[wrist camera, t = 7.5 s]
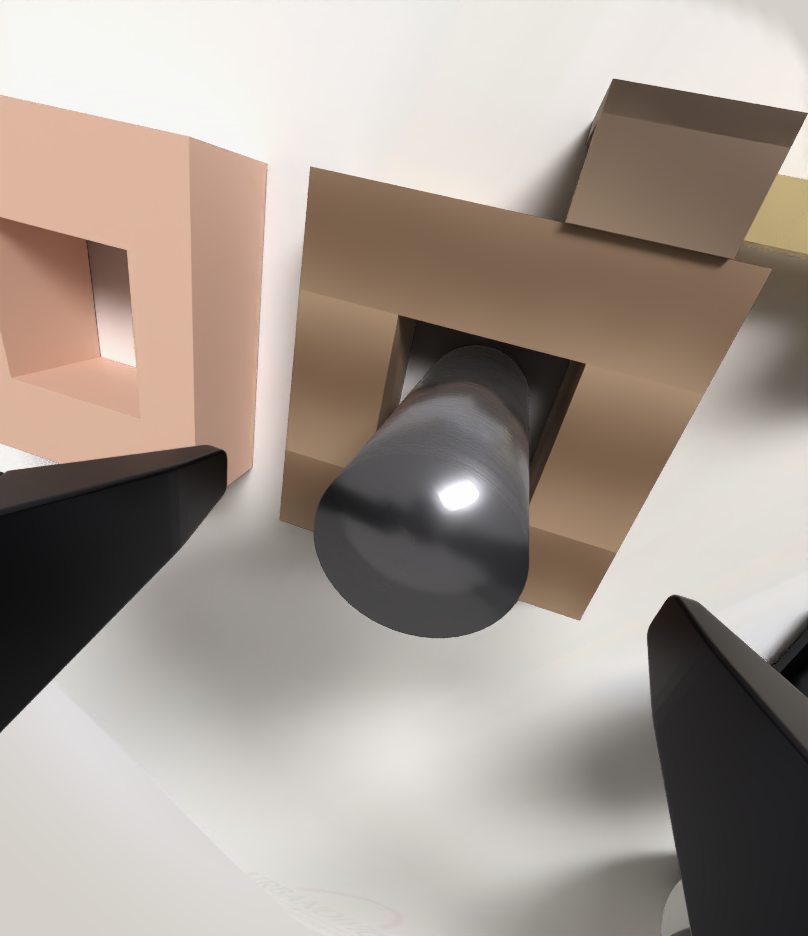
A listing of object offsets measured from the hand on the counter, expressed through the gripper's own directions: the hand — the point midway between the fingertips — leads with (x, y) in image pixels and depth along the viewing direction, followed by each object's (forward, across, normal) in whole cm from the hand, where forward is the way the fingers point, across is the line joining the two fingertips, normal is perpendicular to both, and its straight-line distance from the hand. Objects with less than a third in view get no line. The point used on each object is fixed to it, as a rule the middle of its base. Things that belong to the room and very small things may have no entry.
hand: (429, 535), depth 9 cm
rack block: (+9, +14, 0) cm, 17 cm away
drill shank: (+9, 0, 0) cm, 9 cm away
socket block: (+9, 0, -1) cm, 9 cm away
